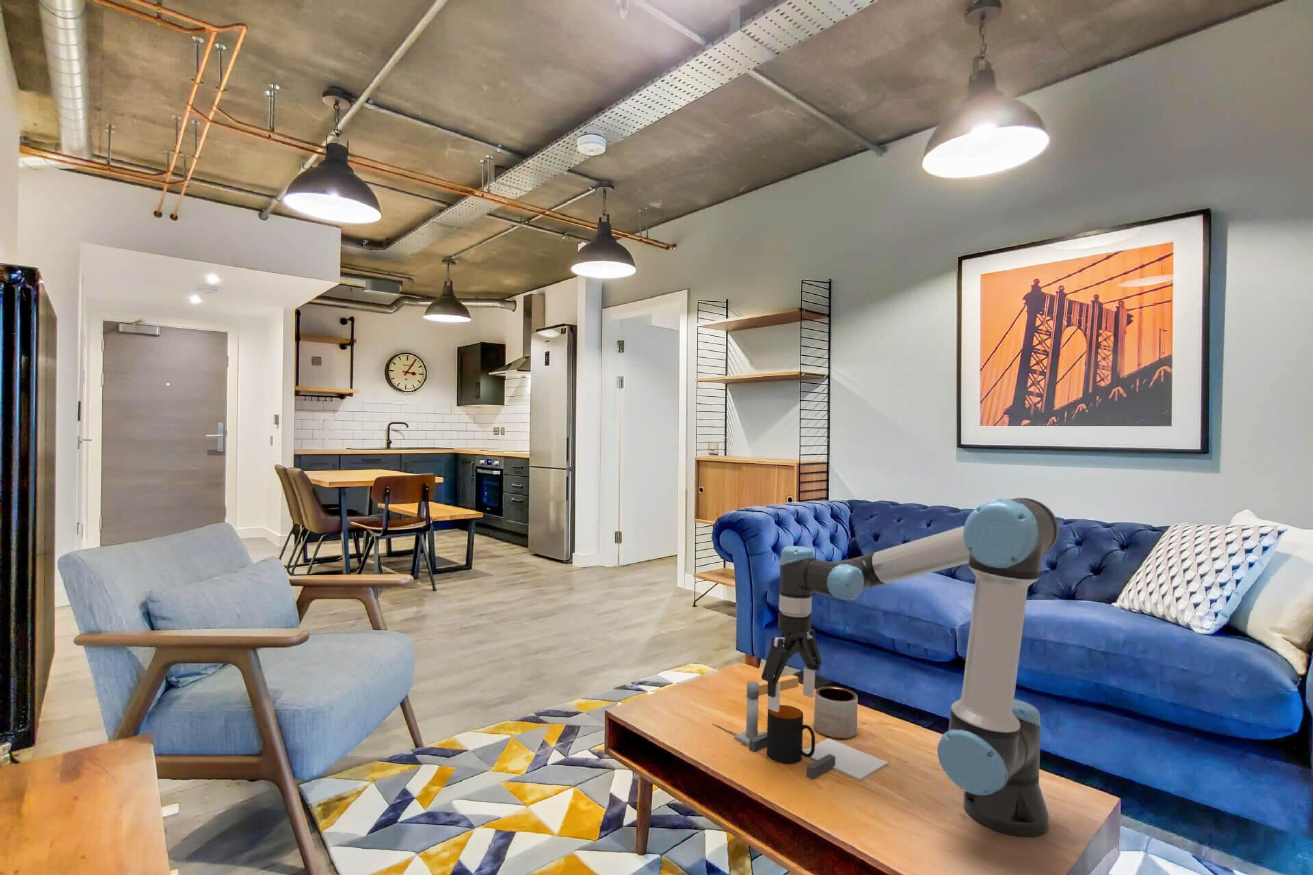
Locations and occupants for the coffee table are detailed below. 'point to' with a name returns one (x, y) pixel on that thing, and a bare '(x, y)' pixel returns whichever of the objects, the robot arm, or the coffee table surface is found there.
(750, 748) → the dock
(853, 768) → the mat
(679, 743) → the coffee table surface
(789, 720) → the mug
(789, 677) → the wooden bar
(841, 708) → the planter
